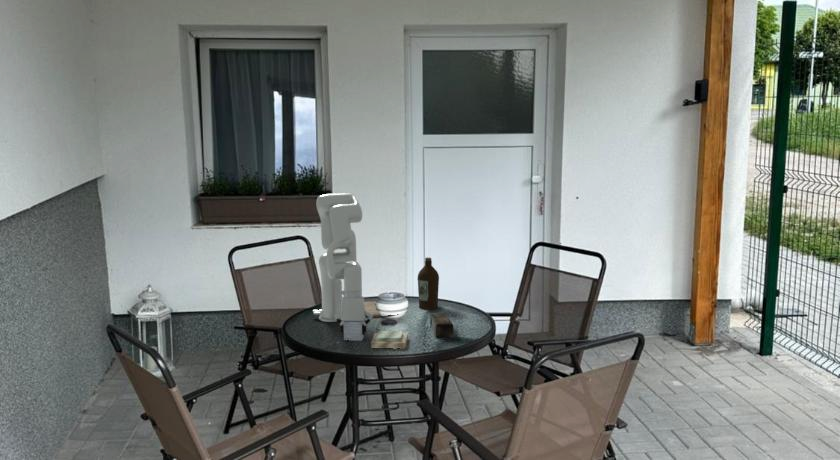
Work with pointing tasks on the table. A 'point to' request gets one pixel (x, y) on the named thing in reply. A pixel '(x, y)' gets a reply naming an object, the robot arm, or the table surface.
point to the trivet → (372, 309)
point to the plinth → (389, 344)
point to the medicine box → (353, 330)
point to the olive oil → (428, 286)
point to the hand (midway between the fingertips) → (353, 333)
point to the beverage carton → (441, 325)
